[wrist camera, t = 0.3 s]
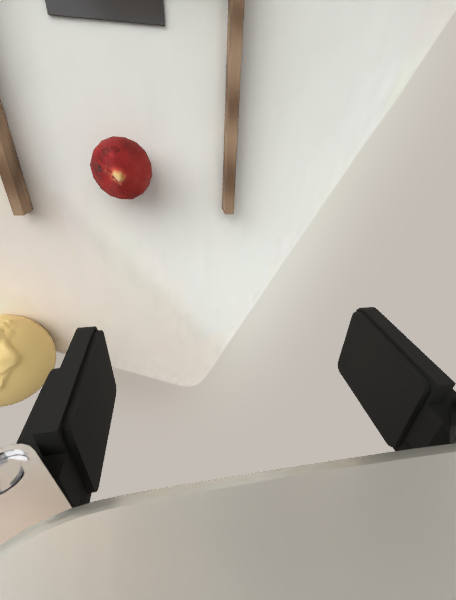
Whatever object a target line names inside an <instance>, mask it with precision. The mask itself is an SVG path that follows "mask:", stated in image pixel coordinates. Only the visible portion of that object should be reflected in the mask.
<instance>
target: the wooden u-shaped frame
mask: <svg viewBox="0 0 456 600" xmlns="http://www.w3.org/2000/svg"><path fill="white" fill-rule="evenodd" d="M45 2H46V7H47V12H48V14H49V15H57V16H68V17H79V18H89V19H100V20H111V21H121V22H132V23H142V24H153V25H164V8H163V0H45ZM243 15H244V0H228V33H227V65H226V98H225V130H224V163H223V195H222V209H223V211H224V213H225V214H233V212H234V192H235V172H236V153H237V133H238V113H239V94H240V74H241V54H242V35H243ZM0 175H1V178H2V181H3V184H4V187H5V190H6V193H7V196H8V199H9V202H10V205H11V208H12V211H13V214H14V215H25V214H27V213H28V212H29V211H31V210H32V209H33V208H32V204H31V201H30V198H29V194H28V191H27V188H26V184H25V181H24V178H23V174H22V171H21V168H20V164H19V161H18V157H17V154H16V151H15V147H14V144H13V141H12V137H11V134H10V131H9V127H8V124H7V121H6V117H5V114H4V111H3V107H2V104H1V101H0Z"/></svg>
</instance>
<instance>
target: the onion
mask: <svg viewBox="0 0 456 600" xmlns="http://www.w3.org/2000/svg"><path fill="white" fill-rule="evenodd" d="M90 166H91V170H92V174H93V178H94V179H95V181H96V182H97V183H98V185H99V186H100V188H101V189H102V190H104V191H105V192H106V193H107V194H109V195H110V196H113V197H116V198H119V199H134V198H135V197H137V196H139V195H141V194H143V193H144V191H145V190H146V189H147V188H148V186H149V184H150V180H151V177H152V170H151V162H150V160H149V158H148V156H147V154H146V151H145V150H143V149H142V148H141V147H140V146H139V145H138V144H137V143H136V142H134V141H132V140H129V139H127V138H125V137H114V136H113V137H110V138H108V139H105V140H102V141H101V142H100V143H99V145H98V146H97V147H96V148H95V149H94V150H93V154H92V159H91V163H90Z"/></svg>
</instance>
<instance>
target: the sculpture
mask: <svg viewBox="0 0 456 600" xmlns="http://www.w3.org/2000/svg"><path fill="white" fill-rule="evenodd" d="M55 362H56V349H55V345H54V343H53V340H52V338H51V337H50V335H49V334H48V332H47V331H46V330H45V329H44V328H43V327H42V326H40V325H39V324H37V323H36V322H34V321H32V320H30V319H28V318H25V317H21V316H16V315H0V407H2V406H8V405H11V404H15V403H18V402H20V401H22V400H24V399H26V398H28V397H30V396H31V395H32V394H34V393H35V392H36V391H38V390H39V389H40V388H41V387H42V386H43V385H44V383H45V380H46V378H47V376H48V374H49V373H50V371H51V370H52V369H54V366H55Z"/></svg>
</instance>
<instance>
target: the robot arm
mask: <svg viewBox="0 0 456 600" xmlns="http://www.w3.org/2000/svg"><path fill="white" fill-rule="evenodd" d="M338 369H339V371H340V373H341V375H342V376H343V378H344V379H345V381H346V382H347V384H348V385H349V387H350V388H351V390H352V391H353V393H354V394H355V396H356V397H357V399H358V400H359V402H360V403H361V405H362V407H363V408H364V410H365V411H366V412H367V414H368V415H369V417H370V418H371V420H372V422H373V423H374V425H375V426H376V428H377V429H378V431H379V432H380V434H381V435H382V437H383V438H384V440H385V441H386V443H387V444H388V445H389V446H391V447H393V448H394V450H395V452H389V453H382V454H375V455H368V456H361V457H355V458H348V459H342V460H335V461H329V462H322V463H316V464H309V465H302V466H296V467H290V468H283V469H277V470H270V471H264V472H258V473H251V474H245V475H239V476H232V477H226V478H220V479H214V480H208V481H202V482H195V483H189V484H183V485H176V486H171V487H165V488H160V489H154V490H148V491H143V492H137V493H132V494H126V495H121V496H117V497H113V498H108V499H103V500H99V501H95V502H91V503H90V497H91V493H92V492H97V490H98V487H99V482H100V477H101V472H102V466H103V461H104V455H105V451H106V445H107V440H108V435H109V429H110V423H111V419H112V413H113V408H114V403H115V397H116V384H115V379H114V375H113V371H112V366H111V362H110V358H109V354H108V349H107V345H106V341H105V337H104V333H103V331H102V330H100V331H98V330H97V328H96V327H83V328H77V330H76V332H75V334H74V336H73V339H72V341H71V343H70V346H69V348H68V350H67V353H66V355H65V357H64V360H63V362H62V364H61V367H60V368H58V369H52V370H51V371H50V373H49V374H48V376H47V378H46V380H45V383H44V385H43V387H42V389H41V391H40V393H39V396H38V398H37V400H36V402H35V404H34V406H33V409H32V411H31V413H30V415H29V417H28V419H27V422H26V424H25V426H24V428H23V430H22V432H21V435H20V437H19V439H18V441H17V443H16V444H12V445H8V446H5V447H2V448H0V600H456V392H455V391H454V390H453V387H454V385H455V383H454V382H453V381H452V380H451V379H450V378H449V377H448V376H447V375H446V374H445V373H444V372H443V371H442V370H441V369H440V368H439V367H437V365H436V364H434V363H433V362H432V361H431V360H430V359H429V358H428V357H427V356H426V355H425V354H424V353H423V352H422V351H421V350H420V349H419V348H417V347H416V346H415V345H414V344H413V343H412V342H411V341H410V340H409V339H408V338H407V337H406V336H405V335H404V334H403V333H401V331H399V330H398V329H397V328H396V327H395V326H394V325H393V324H392V323H391V322H390V321H389V320H387V318H386V317H385V316H384V315H382V314H381V313H380V312H379V311H378V310H377V309H376V308H374V307H369V308H359V309H357V311H356V312H355V313H353V315H352V318H351V321H350V325H349V328H348V331H347V335H346V338H345V341H344V344H343V348H342V351H341V354H340V358H339V361H338Z"/></svg>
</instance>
